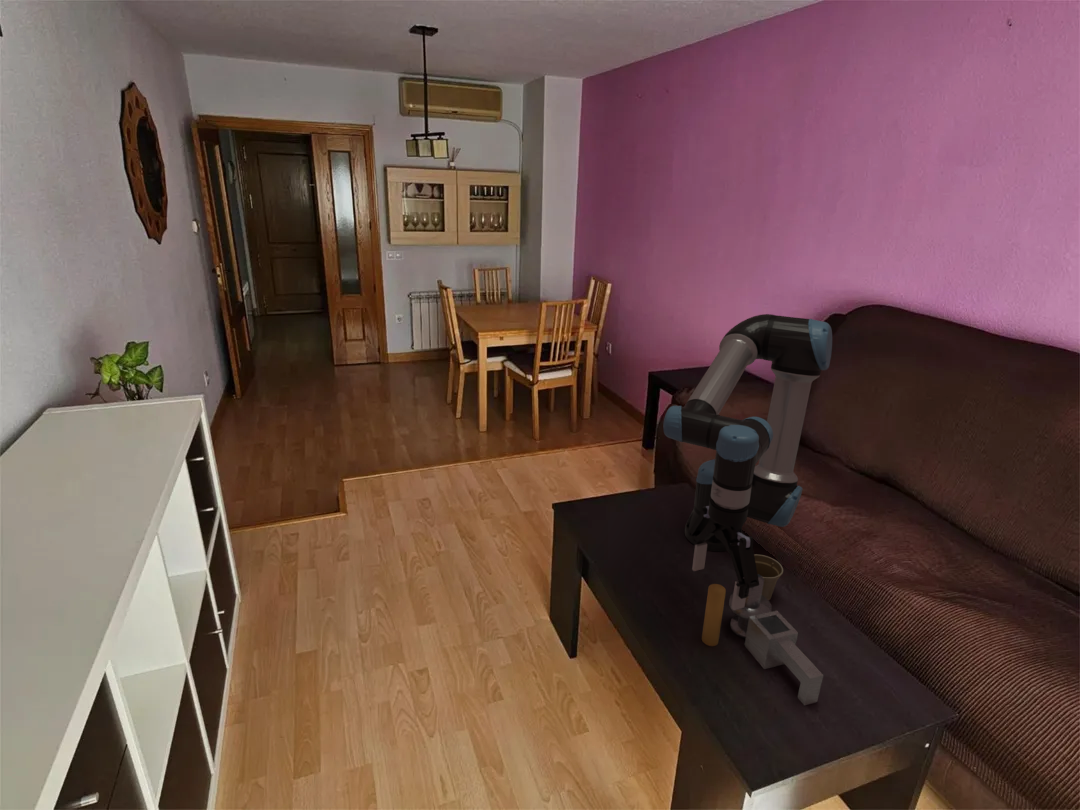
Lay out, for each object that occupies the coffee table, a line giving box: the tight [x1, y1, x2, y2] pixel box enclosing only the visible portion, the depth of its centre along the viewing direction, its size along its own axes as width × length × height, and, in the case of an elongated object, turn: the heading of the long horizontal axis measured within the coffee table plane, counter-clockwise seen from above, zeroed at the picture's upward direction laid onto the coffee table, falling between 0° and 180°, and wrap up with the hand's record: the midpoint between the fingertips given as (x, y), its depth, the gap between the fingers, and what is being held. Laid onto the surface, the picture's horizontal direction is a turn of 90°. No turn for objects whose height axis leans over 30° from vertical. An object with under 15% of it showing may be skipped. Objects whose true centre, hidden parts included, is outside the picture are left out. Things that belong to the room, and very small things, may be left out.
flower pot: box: [754, 553, 784, 601], centre depth 144 cm, size 9×9×9 cm
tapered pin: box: [701, 583, 727, 647], centre depth 129 cm, size 4×4×14 cm
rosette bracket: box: [728, 574, 824, 706], centre depth 124 cm, size 26×9×14 cm, turn 16°
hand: (716, 587), depth 126 cm, fingers open, 13 cm apart
